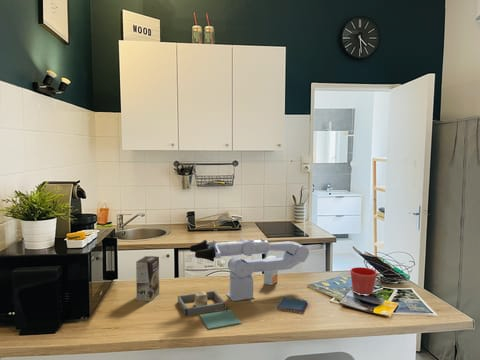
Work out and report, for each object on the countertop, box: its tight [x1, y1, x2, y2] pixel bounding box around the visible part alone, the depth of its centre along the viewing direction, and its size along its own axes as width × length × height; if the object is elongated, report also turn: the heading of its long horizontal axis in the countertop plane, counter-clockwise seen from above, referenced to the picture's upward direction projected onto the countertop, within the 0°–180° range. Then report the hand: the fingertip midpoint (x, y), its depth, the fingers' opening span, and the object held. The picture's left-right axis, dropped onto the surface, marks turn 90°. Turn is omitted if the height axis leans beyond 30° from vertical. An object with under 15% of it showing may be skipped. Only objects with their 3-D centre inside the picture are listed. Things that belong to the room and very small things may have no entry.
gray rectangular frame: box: [177, 290, 226, 317], centre depth 145 cm, size 16×14×2 cm
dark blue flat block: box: [276, 296, 309, 314], centre depth 144 cm, size 10×11×2 cm
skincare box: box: [263, 255, 279, 286], centre depth 171 cm, size 6×4×12 cm
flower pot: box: [350, 266, 377, 295], centre depth 158 cm, size 11×11×10 cm
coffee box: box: [135, 255, 160, 302], centre depth 154 cm, size 9×6×16 cm
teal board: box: [199, 309, 242, 330], centre depth 133 cm, size 12×11×1 cm
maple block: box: [194, 290, 208, 307], centre depth 145 cm, size 4×4×5 cm
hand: (192, 251), depth 146 cm, fingers open, 7 cm apart
